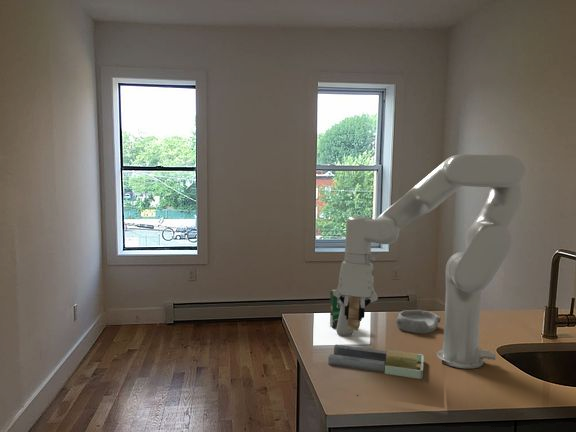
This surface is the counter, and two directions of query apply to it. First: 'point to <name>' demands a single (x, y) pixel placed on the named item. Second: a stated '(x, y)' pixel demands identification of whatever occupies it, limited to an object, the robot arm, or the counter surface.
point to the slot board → (358, 358)
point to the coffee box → (334, 309)
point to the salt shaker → (343, 323)
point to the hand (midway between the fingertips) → (354, 318)
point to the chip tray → (406, 369)
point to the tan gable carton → (354, 313)
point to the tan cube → (393, 358)
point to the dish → (417, 321)
